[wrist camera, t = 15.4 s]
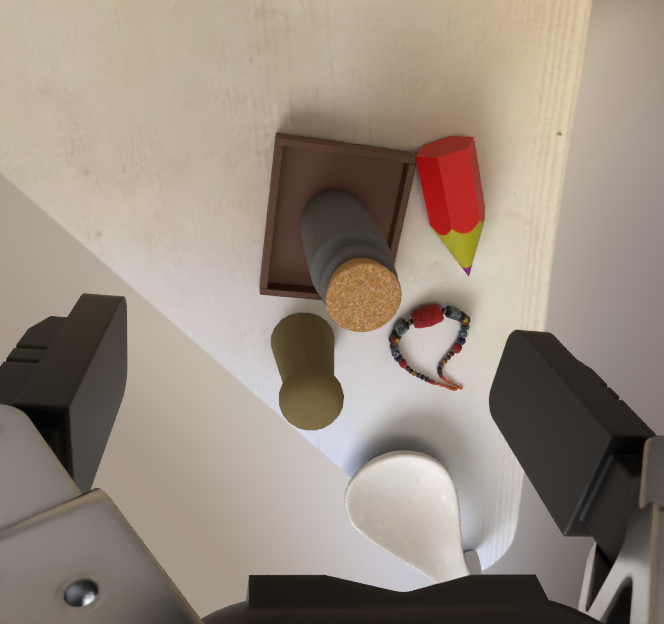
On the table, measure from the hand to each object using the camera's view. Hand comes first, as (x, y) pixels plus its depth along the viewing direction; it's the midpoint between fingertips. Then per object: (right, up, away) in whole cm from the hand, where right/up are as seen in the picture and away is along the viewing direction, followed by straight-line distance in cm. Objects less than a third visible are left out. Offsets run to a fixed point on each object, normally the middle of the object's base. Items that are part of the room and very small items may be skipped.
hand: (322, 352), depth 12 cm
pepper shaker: (-3, -2, +41) cm, 42 cm away
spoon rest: (+10, -21, +53) cm, 58 cm away
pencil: (+10, +10, +37) cm, 40 cm away
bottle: (0, +9, +36) cm, 37 cm away
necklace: (+10, -3, +44) cm, 45 cm away
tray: (0, +9, +36) cm, 37 cm away
